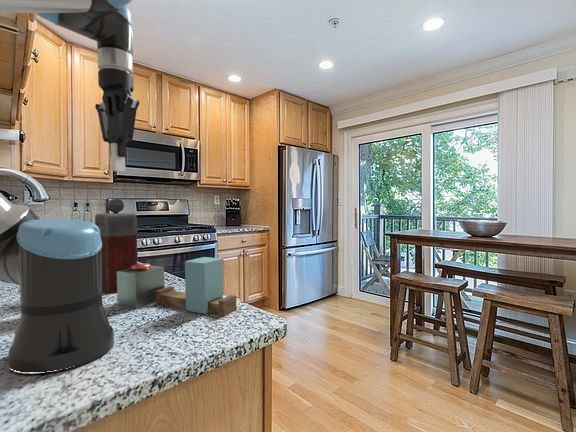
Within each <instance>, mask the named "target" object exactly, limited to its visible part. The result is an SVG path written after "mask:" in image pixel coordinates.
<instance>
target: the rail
mask: <svg viewBox="0 0 576 432" xmlns="http://www.w3.org/2000/svg"><path fill="white" fill-rule="evenodd" d="M154 304H155V305H159V306H160V305H162V306H168V307H169V306H170V307H175V308H180V309H184V310H186V295H185V292H183V291H182V292H181V291H175V287H174V286H167V287H164V288H163V289H160V290H156V291H155V303H154ZM235 311H237V296H236V295H229V296H227V297H223V299H222V298H216V299H214V300H211V301H209V302H208V313H207V314H213V315H218V316H219V317H226V316H228V315H230V314H231V313H234V312H235Z"/></svg>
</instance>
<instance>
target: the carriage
mask: <svg viewBox="0 0 576 432" xmlns="http://www.w3.org/2000/svg"><path fill="white" fill-rule="evenodd" d="M184 272H185V273H184V274H185V275H184V276H185V277H184V278H185V279H184V280H185V283H184V286H185V288H184V289H185V292H184V293H185V295H186V309H185V311H188V312H193V313H199V314H202V315H207V314H209V313H208V302H209V301H211V300H214V299H216V298H222V299H224V259H223V258H220V257H219V258H218V257H207V256H204V257H203V256H202V257H199V258H194V259H189V260H186V261H184Z"/></svg>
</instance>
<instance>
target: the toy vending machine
mask: <svg viewBox="0 0 576 432" xmlns="http://www.w3.org/2000/svg"><path fill="white" fill-rule="evenodd" d="M106 208H107V210H108V211H109V212H111V213H97V214H95V216H94V219H95V220H94V224H95V225H97V226H98V228H99V230H100V236H101V241H102V248H101V262H102V293H104V294H105V295H111V294H115V293H116V294H117V271H120V270H124V269H129V268H131V266H132V265H134V264H139V263H138V225H137V224H138V223H137V221H138V220H137V218H138V217H137V215H136V213H131V212H130V213H129V212H128V213H127V212H122V211H123V210H124V208H125V203H124V201H123V200H122V199H120V198H111V199H109V200H108V201H107V203H106ZM120 212H122V213H120Z"/></svg>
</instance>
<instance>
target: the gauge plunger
mask: <svg viewBox="0 0 576 432" xmlns="http://www.w3.org/2000/svg"><path fill="white" fill-rule="evenodd" d="M150 265H151V263H145V262H143V263H138V264H134V265H132V266H131V270H135V271H143V270H147V269H150Z"/></svg>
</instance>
